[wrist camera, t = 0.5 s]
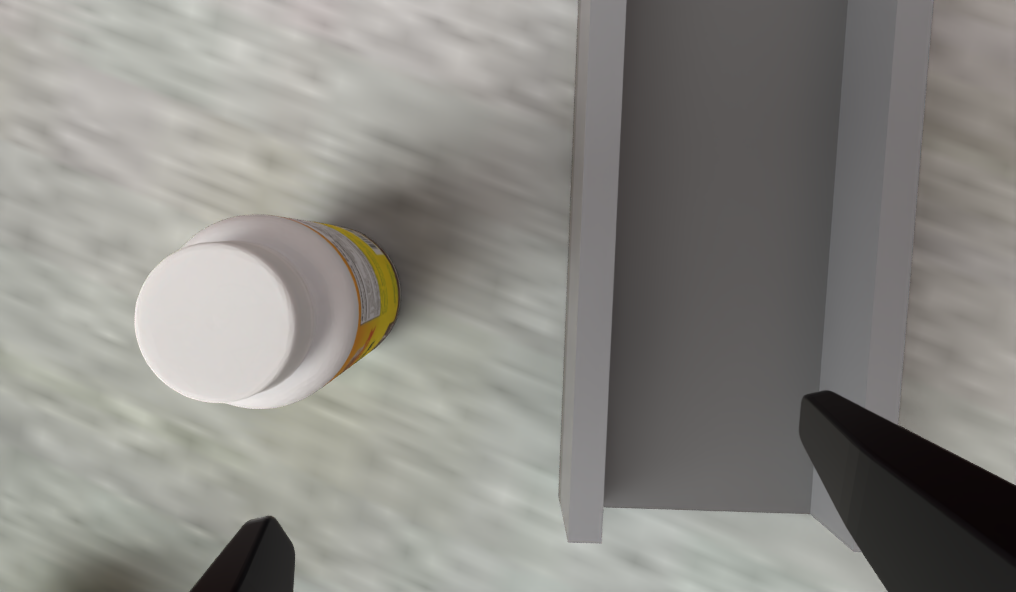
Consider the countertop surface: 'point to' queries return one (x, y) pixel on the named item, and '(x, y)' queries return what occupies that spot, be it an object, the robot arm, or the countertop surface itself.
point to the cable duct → (734, 245)
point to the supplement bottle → (265, 309)
